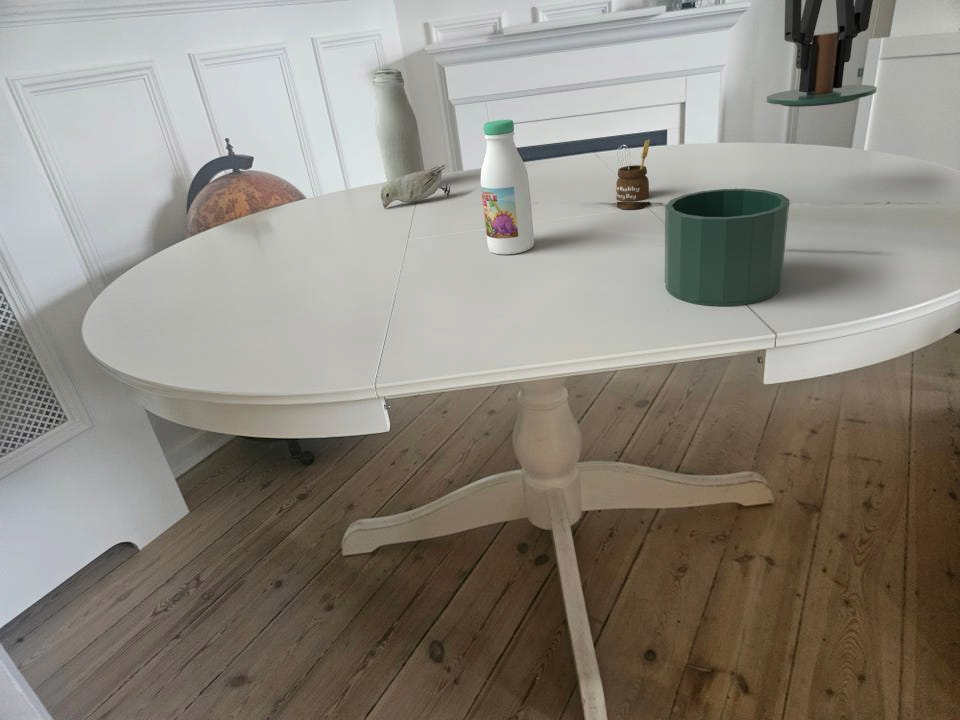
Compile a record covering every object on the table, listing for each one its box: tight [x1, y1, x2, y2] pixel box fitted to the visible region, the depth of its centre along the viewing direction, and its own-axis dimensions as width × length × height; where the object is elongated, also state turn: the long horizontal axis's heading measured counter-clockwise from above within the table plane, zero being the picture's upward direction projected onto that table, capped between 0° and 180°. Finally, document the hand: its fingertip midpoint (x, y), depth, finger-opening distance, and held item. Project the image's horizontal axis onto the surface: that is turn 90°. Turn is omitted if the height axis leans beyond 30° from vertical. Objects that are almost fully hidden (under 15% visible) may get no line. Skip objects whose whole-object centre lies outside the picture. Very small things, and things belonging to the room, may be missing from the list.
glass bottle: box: [372, 67, 425, 181], centre depth 153 cm, size 10×10×28 cm
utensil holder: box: [615, 138, 651, 211], centre depth 116 cm, size 6×6×12 cm
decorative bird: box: [380, 162, 452, 209], centre depth 143 cm, size 5×16×7 cm, turn 105°
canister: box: [664, 188, 791, 307], centre depth 77 cm, size 14×14×10 cm
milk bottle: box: [480, 119, 535, 255], centre depth 100 cm, size 8×8×20 cm
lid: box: [765, 31, 878, 108], centre depth 94 cm, size 15×15×9 cm
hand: (820, 89), depth 95 cm, fingers closed on lid, 4 cm apart
